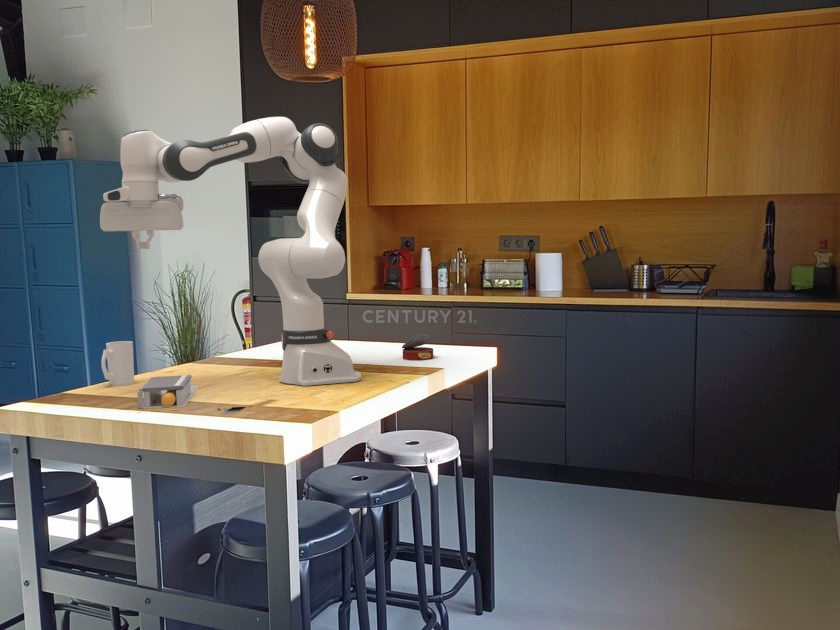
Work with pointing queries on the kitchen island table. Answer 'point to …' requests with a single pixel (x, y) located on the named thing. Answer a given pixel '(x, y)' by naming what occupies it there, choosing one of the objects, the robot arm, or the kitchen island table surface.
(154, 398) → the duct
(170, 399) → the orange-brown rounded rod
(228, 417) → the kitchen island table surface
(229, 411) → the knife
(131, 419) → the kitchen island table surface
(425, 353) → the canned food
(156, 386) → the lid
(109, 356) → the mug
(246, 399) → the kitchen island table surface
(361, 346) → the kitchen island table surface
